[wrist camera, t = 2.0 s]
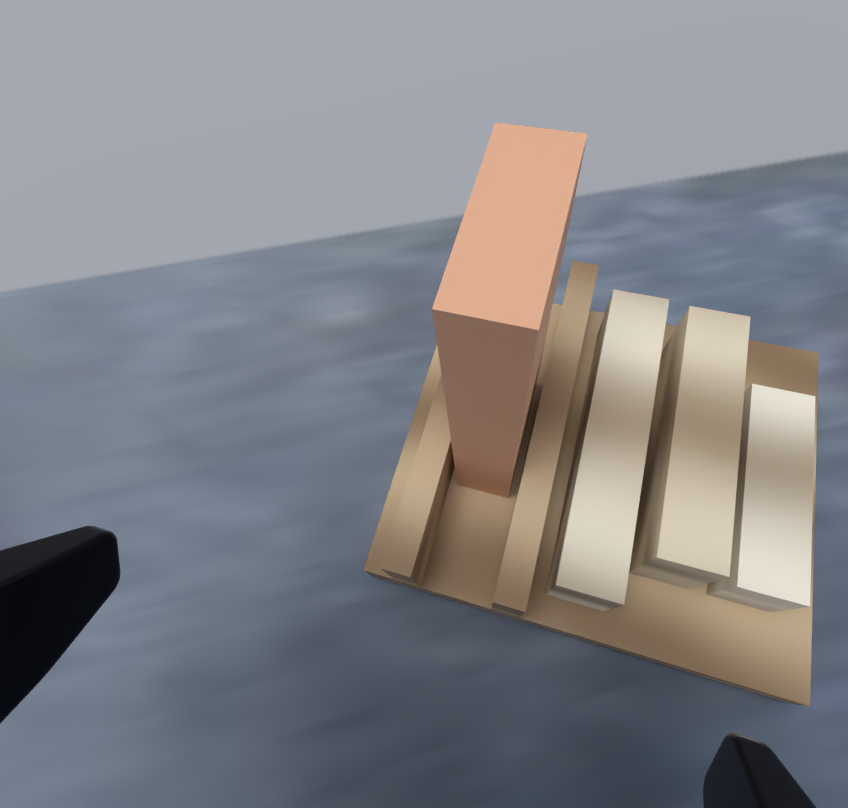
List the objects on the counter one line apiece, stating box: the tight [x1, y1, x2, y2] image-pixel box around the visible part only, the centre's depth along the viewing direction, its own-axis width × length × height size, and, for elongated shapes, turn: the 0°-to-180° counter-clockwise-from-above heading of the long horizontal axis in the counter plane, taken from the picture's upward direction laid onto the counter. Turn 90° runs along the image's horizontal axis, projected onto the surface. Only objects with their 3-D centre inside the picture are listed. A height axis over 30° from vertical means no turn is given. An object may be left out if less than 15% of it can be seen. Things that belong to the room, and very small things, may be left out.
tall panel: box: [432, 123, 587, 498], centre depth 16 cm, size 5×2×12 cm, turn 164°
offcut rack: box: [363, 261, 818, 706], centre depth 20 cm, size 13×15×5 cm
